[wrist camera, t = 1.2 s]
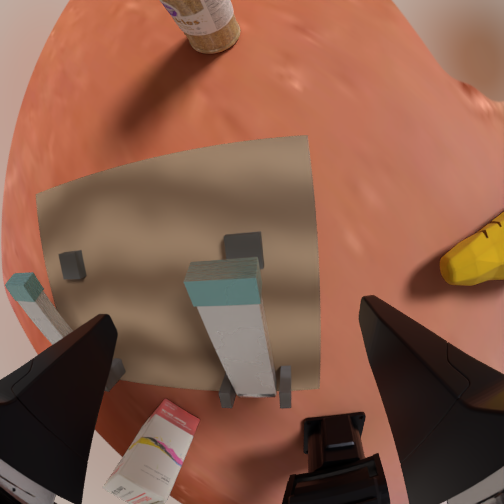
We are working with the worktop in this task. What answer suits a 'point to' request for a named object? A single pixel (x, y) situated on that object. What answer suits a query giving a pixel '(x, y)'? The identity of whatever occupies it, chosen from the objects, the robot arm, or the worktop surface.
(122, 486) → the ink cartridge box
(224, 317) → the bar
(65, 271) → the jig board
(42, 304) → the bar
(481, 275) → the torch
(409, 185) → the worktop surface
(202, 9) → the sprinkles bottle
